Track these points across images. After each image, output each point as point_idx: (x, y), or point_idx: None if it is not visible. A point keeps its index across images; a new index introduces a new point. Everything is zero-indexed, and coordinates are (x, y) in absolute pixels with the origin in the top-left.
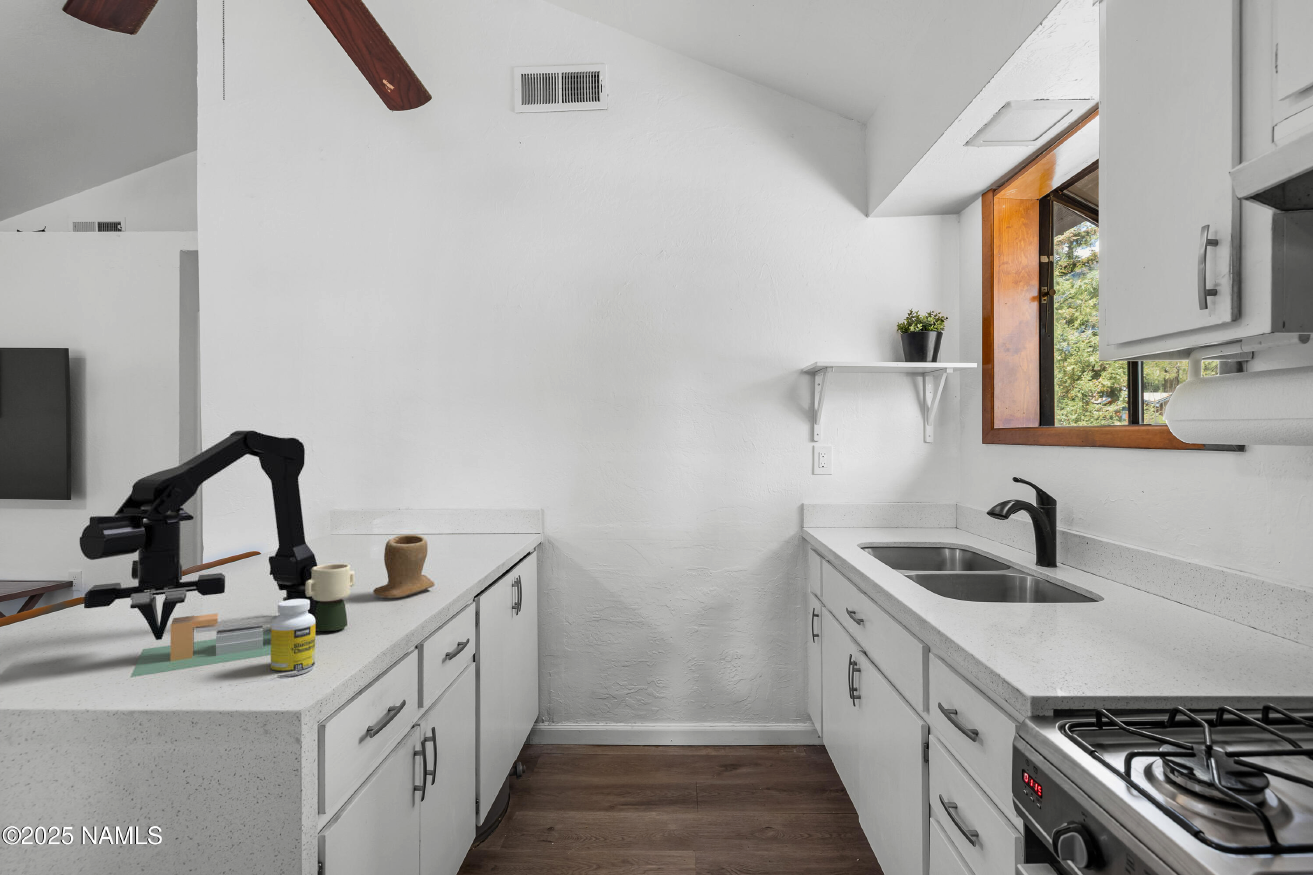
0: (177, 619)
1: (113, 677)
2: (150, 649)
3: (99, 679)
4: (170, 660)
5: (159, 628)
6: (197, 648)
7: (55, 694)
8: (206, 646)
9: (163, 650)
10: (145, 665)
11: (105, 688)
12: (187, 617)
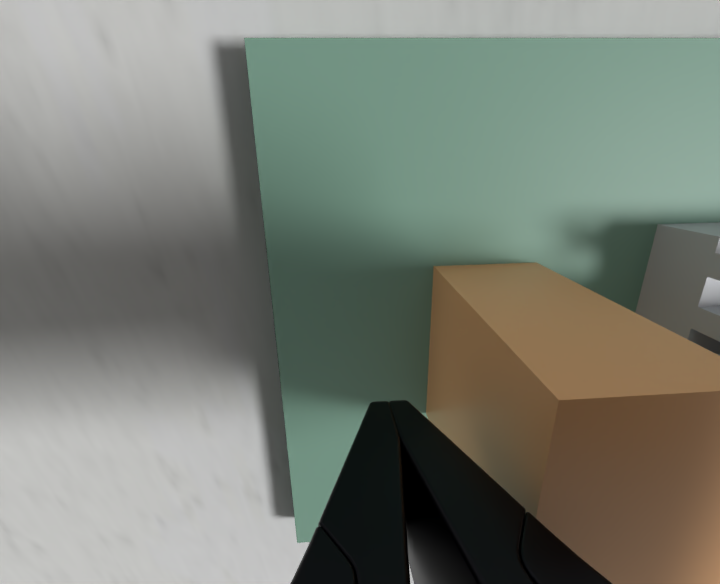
0: (588, 486)
1: (211, 421)
2: (295, 85)
3: (159, 421)
4: (427, 413)
5: (411, 559)
6: (556, 243)
7: (60, 520)
8: (604, 226)
9: (379, 170)
10: (325, 425)
11: (224, 530)
12: (694, 442)
